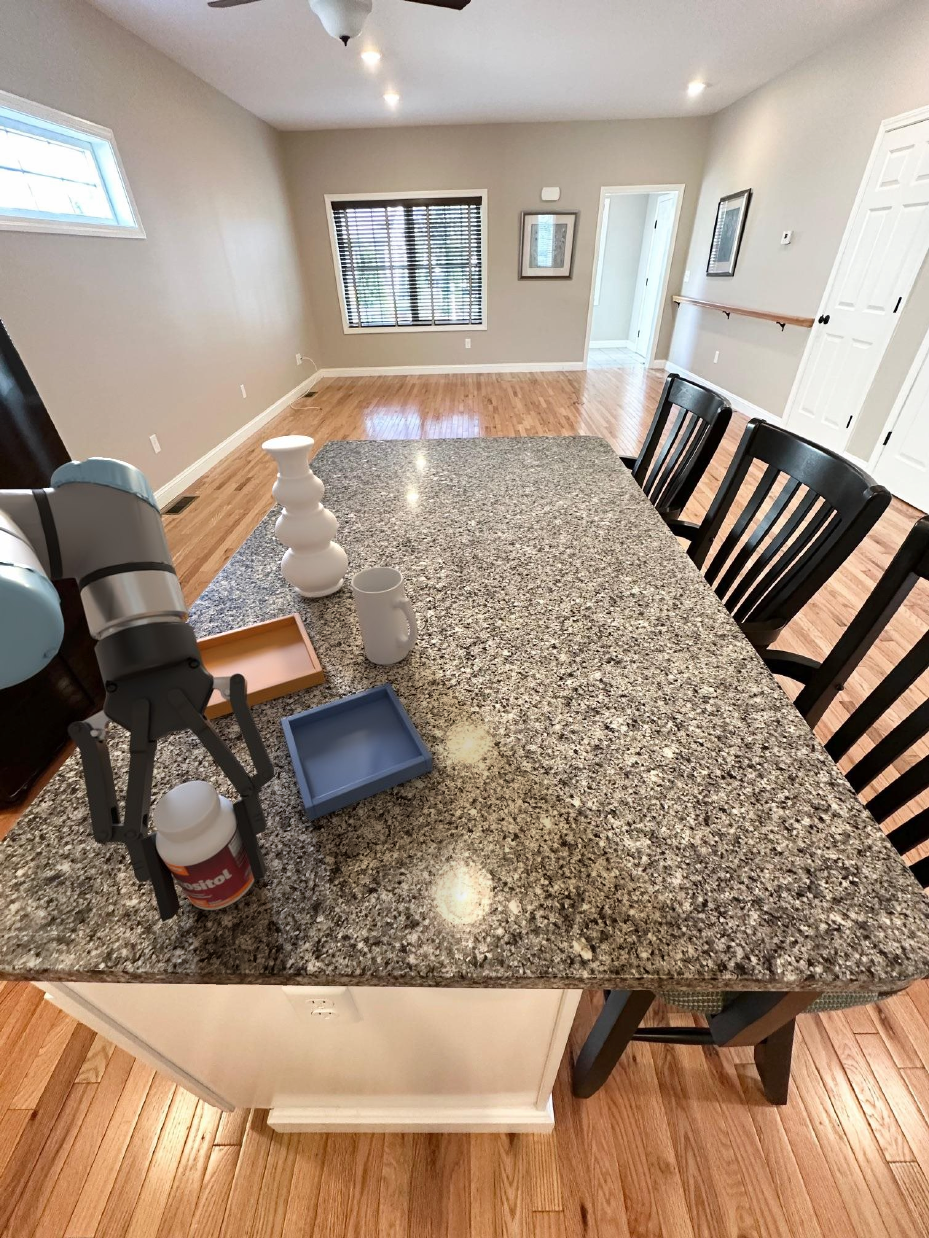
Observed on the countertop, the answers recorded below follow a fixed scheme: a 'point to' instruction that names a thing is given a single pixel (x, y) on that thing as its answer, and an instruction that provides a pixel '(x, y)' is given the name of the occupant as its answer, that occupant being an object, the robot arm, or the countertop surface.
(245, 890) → the pill bottle
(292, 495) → the vase
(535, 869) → the countertop surface
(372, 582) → the mug
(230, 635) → the amber tray
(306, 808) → the blue tray
